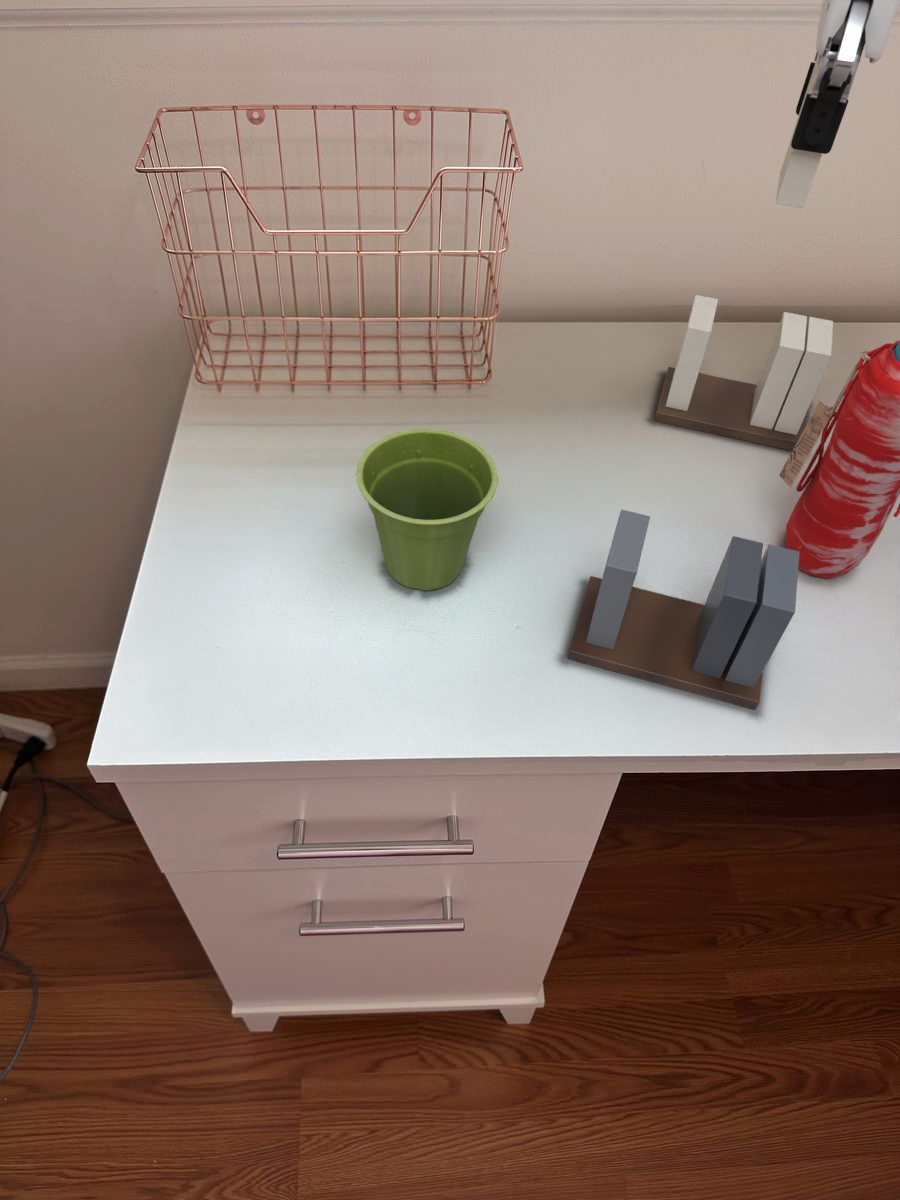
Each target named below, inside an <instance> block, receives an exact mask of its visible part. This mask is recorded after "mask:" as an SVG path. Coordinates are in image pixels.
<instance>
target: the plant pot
mask: <svg viewBox="0 0 900 1200" xmlns="http://www.w3.org/2000/svg"><path fill="white" fill-rule="evenodd" d="M355 474H356V475H355V476H356V484H357V487H358V490H359V491H360V493H361V495H362V496H363V498H364V499H365V501H366V502H367V505H368V507H369V509H370V512H371V513H372V514H373V515H372V516H373V519H374V522H375V526H376V531H377V535H378V539H379V543H380V547H381V551H382V556H383V559H384V563H385V566H386V569H387V571H388V574H389V575H390V576H391V578H392V579H393V580H394V581H396V582H397V583H399V584H400V585H402V586H403V587H406V588H410V589H419V590H422V591H434V590H438V589H441V588H444V587H446V586H448V585H450V584H451V583H453V582H454V581H455V580H456V579H457V578H458V577H459V575H460V574H461V572H462V569H463V566H464V564H465V561H466V557H467V554H468V552H469V548H470V545H471V543H472V539H473V536H474V533H475V530H476V527H477V524H478V521H479V518H480V517H481V516H482V514H483V512H484V510H485V507H486V506H487V505H488V504H489V503H490V502H491V500H492V499H493V497H494V495H495V493H496V491H497V488H498V484H499V475H498V469H497V465H496V464H495V461H494V460H493V458H492V456H491V455H490V454H489V453H488V452H487V451H486V449H484V448H483V447H482V446H481V445H480V444H479V443H477V442H475V441H474V440H472V439H470V438H468V437H466V436H464V435H463V434H460V433H456V432H453V431H449V430H445V429H440V428H428V427H424V428H423V427H421V428H409V429H404V430H400V431H397V432H393V433H391V434H388V435H386V436H383V437H382V438H380V439H378V440H376V441H375V442H374V443H372V444H371V445H370V446H369V447H368V448H367V449H366V450H365V451H364V452H363V453H362V456H361V457H360V459H359V461H358V463H357V467H356V473H355Z"/></svg>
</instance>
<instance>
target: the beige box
mask: <svg viewBox="0 0 900 1200" xmlns="http://www.w3.org/2000/svg"><path fill="white" fill-rule="evenodd" d="M820 61H821V55H820V54H819V53H818V56H817V59H816V61H814V63H815V66H814V69H813V72H812V75H811V78H810V81H809V84H808V87H807V90H806V94H805V97H804V100H803V103H802V106H801V109H800V112H799V115H797V118H796V122H795V125H794V128H793V131H792V135H791V137H790V140H789V143H788V147H787V149H786V153H785V156H784V158H783V159H784V160H783V162H782V166H781V169H780V170H779V171H780V172H779V177H778V184H777V190H776V196H775V205H781V206H786V207H787V206H788V207H794V208H800V209H804V208H805V204H806V201H807V198H808V196H809V193H810V190H811V188H812V184H813V182H814V180H815V179H814V178H815V176H816V173H817V170H818V167H819V164H820V161H821V158H822V156H823V154H822V153H816V152H809V151H803V150H797V149H793V148H792V147H791V142H792V138H793V135H794V132H795V129H796V126H797V123H798V120H799V117H800V114H801V111H802V108H803V104H804V101H805V98H806V95H807V94H811V91H812V88H813V85H814V81H815V78H816V75H817V71H818V68H819V64H820ZM833 64H834V63H829V62H828V65H827V68H826V71H827V69H828V68H829V67H831V68H832V67H833ZM826 71H825V72H826Z"/></svg>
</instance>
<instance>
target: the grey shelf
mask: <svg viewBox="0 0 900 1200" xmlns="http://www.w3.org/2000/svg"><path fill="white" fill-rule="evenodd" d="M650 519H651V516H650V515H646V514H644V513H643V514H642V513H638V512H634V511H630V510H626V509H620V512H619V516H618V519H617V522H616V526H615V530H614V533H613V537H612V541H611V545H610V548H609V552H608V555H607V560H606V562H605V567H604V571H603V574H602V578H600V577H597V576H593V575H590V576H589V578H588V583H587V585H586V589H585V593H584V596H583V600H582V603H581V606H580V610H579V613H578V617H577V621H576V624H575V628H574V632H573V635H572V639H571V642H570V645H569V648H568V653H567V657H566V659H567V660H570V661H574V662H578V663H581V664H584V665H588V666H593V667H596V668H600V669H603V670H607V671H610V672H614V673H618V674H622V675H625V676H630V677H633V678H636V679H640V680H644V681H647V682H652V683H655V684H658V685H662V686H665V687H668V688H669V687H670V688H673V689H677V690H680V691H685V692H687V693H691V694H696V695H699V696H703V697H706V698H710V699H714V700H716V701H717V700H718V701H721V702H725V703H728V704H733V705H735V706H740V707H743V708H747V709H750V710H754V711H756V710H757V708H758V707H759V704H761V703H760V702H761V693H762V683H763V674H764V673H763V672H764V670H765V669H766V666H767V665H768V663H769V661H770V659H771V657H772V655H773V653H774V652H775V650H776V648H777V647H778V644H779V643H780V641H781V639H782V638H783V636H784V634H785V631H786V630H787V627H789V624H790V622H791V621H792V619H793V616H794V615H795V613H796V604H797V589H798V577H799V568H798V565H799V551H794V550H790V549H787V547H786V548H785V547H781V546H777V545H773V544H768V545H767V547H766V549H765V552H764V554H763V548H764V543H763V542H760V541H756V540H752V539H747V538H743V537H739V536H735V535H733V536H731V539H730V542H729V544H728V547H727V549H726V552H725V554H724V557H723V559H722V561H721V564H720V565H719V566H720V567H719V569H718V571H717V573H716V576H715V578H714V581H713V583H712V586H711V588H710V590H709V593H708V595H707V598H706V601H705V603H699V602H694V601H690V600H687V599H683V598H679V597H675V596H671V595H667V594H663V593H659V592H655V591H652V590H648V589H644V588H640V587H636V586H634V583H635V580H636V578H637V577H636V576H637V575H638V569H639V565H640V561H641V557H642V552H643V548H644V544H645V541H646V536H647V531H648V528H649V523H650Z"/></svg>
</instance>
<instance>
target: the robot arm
mask: <svg viewBox="0 0 900 1200" xmlns="http://www.w3.org/2000/svg"><path fill="white" fill-rule="evenodd" d="M822 1H823V2H822V5H821V10H820V15H819V21H818V26H817V27H818V28H817V34H816V42H815V43H816V44H815V49H816V53H815V56H814V60H813V61H811V62H810V64H809V67H808V70H807V73H806V77H805V80H804V83H803V86H802V89H801V92H800V95H799V99H798V102H797V104H796V108H795V114H796V115H797V116H798V115H799V112H800V109H801V106H802V103H803V100H804V97H805V94H806V90H807V87H808V84H809V81H810V78H811V75H812V72H813V69H814V66H815V62H816V59H817V56H818V53H819V54H820V55H821V61H820V64H819V68H818V71H817V75H816V78H815V81H814V85H813V88H812V91H811V94H807V95H806V98H805V101H804V104H803V108H802V111H801V114H800V117H799V120H798V123H797V126H796V129H795V132H794V135H793V138H792V142H791V147H792V148H793V149H797V150H803V151H809V152H816V153H822V155H827V154H829V153H830V152H831V151H832V148H833V146H834V142H835V140H836V137H837V135H838V132H839V129H840V127H841V123H842V121H843V118H844V116H845V113H846V110H847V108H848V105H849V104H848V103H849V99H848V98H849V95H850V93H851V89H852V86H853V84H854V83H853V82H854V79H855V77H856V73H857V70H858V67H859V63H860V62H861V58H862V54H863V51H864V53H865V55H864V57H865V58H868V59H869V64H875V63H876V62H879V60H881V59H882V57H883V54H884V51H885V48H886V45H887V42H888V38H889V36H890V32H891V29H892V28H893V27H892V26H893V24H894V21H895V18H896V15H897V12H898V9H899V6H900V0H822ZM828 62H829V63H834V64H833V67H832V68H831V67H829V68H828V69H827V71H826V68H827V65H828ZM825 71H826V72H825Z"/></svg>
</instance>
